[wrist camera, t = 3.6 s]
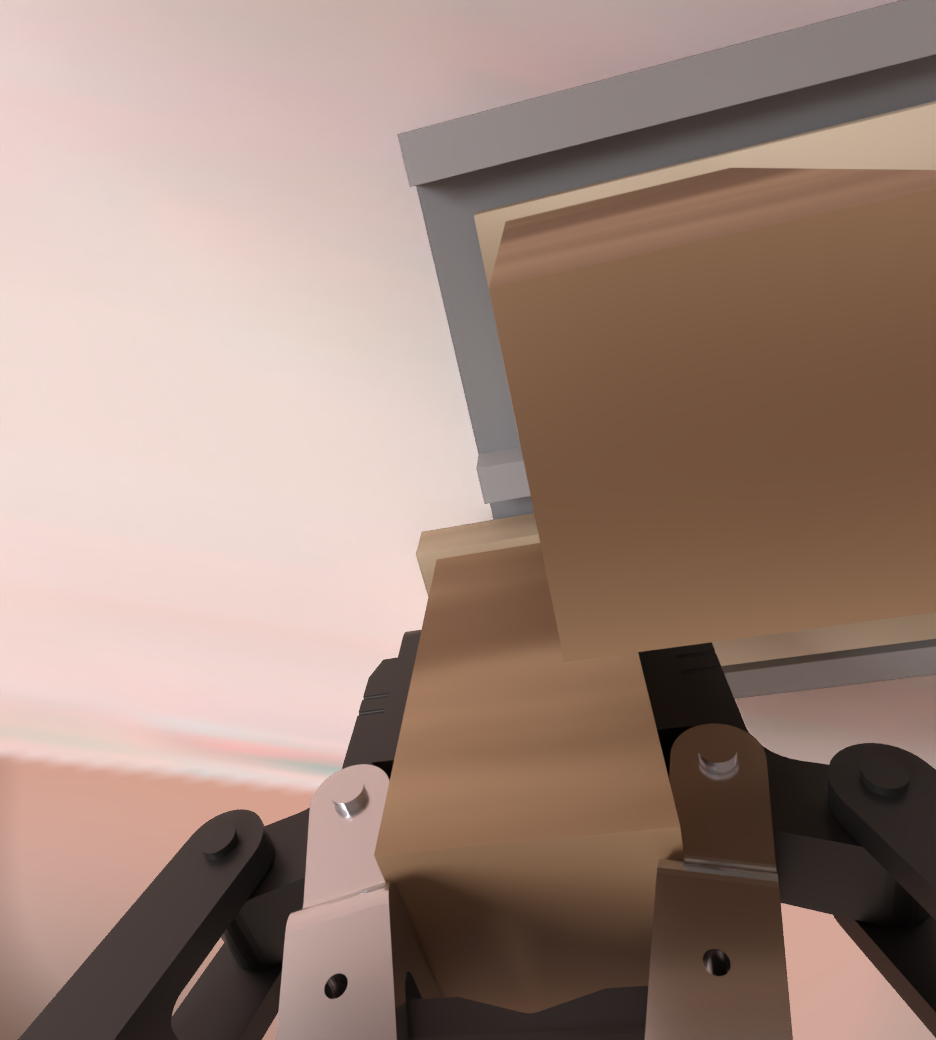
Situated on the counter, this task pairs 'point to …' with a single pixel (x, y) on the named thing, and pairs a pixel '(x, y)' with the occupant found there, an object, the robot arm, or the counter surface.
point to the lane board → (641, 147)
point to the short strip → (729, 387)
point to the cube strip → (537, 780)
